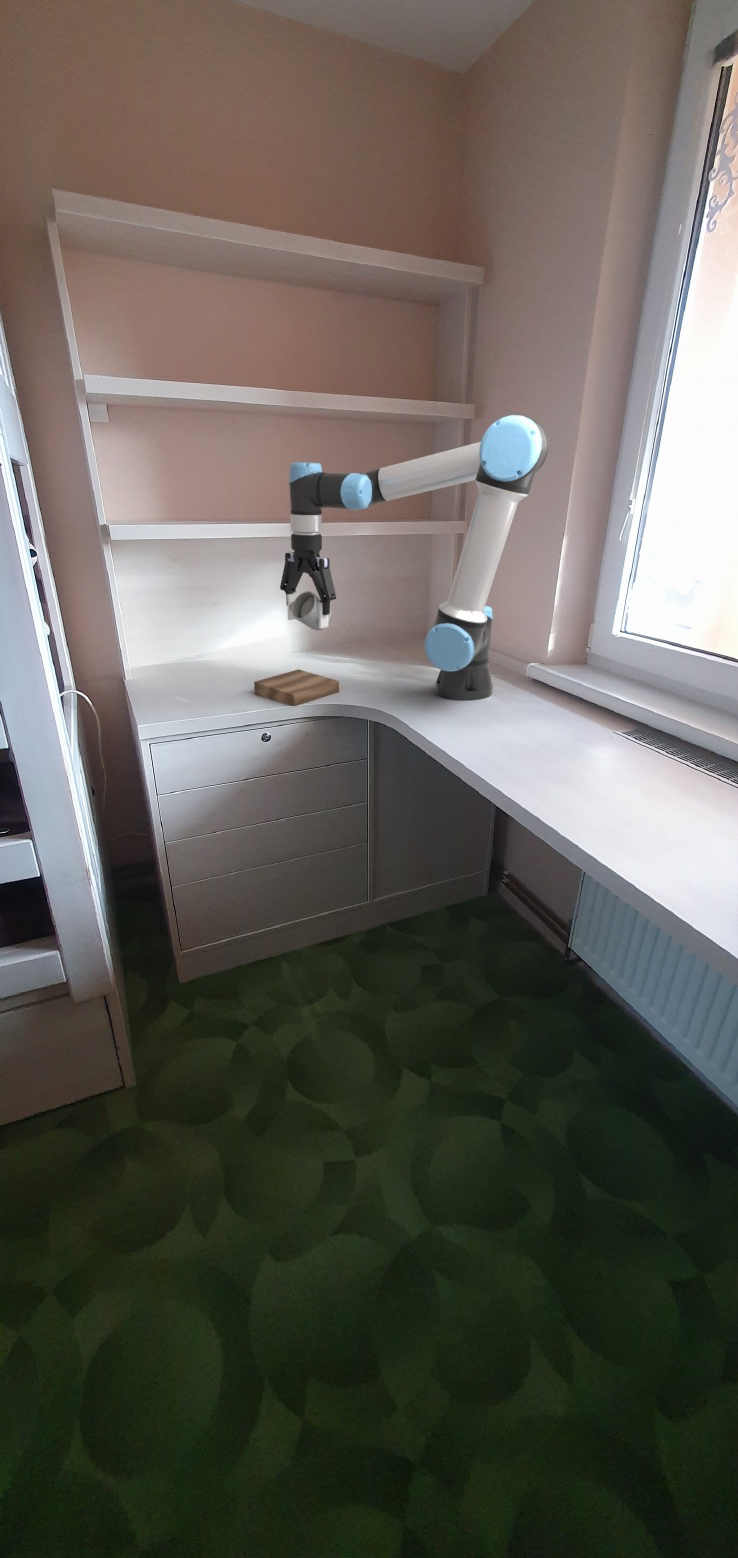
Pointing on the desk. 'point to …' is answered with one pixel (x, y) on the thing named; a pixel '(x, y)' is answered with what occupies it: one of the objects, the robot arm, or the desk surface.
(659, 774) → the desk surface
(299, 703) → the walnut block
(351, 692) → the desk surface
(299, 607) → the ceramic mug
